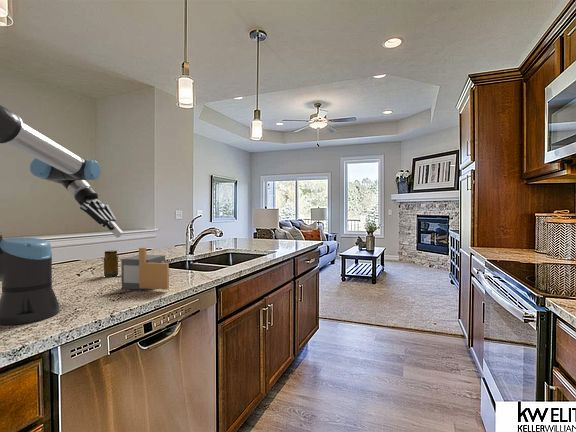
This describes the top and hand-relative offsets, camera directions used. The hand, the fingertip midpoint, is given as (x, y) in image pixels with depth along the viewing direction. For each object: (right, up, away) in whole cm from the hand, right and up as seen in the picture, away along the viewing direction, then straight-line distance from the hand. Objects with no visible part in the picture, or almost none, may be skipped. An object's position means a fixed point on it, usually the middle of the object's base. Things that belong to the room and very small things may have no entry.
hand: (119, 235), depth 125 cm
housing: (+6, -22, +7) cm, 24 cm away
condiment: (-17, -21, +27) cm, 38 cm away
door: (+14, -21, -1) cm, 25 cm away
